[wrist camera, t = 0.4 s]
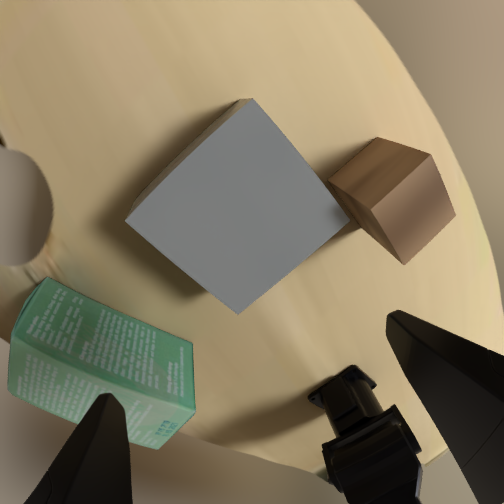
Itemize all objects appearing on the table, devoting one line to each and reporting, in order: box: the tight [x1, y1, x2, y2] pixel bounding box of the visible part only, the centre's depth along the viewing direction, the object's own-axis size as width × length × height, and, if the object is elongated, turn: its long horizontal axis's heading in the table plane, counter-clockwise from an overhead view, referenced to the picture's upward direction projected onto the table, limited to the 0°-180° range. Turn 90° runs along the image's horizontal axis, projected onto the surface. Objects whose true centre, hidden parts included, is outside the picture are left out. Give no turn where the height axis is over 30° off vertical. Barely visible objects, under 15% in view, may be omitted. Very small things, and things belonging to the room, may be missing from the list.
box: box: [8, 277, 196, 450], centre depth 21 cm, size 7×14×8 cm, turn 56°
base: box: [125, 98, 350, 314], centre depth 19 cm, size 9×9×4 cm
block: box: [328, 137, 456, 265], centre depth 19 cm, size 5×5×6 cm
